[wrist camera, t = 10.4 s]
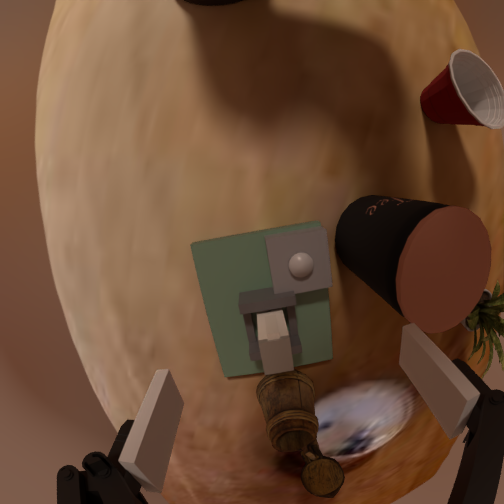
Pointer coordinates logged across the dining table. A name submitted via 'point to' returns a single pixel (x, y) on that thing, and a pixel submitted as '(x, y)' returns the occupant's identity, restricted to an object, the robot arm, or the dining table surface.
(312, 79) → the dining table surface
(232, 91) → the dining table surface
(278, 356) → the plug
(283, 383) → the wooden mug
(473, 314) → the house plant
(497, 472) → the robot arm
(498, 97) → the plastic cup
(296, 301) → the board
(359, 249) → the coffee jar
